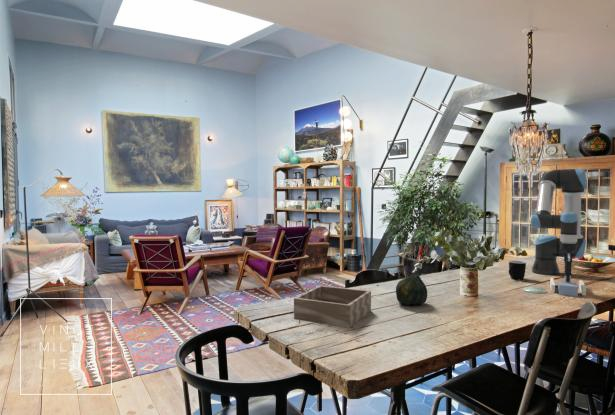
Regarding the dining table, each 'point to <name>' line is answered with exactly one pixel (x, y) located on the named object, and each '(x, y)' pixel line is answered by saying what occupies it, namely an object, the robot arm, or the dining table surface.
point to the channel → (581, 287)
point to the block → (568, 289)
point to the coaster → (534, 290)
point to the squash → (411, 290)
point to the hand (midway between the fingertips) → (567, 287)
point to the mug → (517, 269)
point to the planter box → (332, 306)
